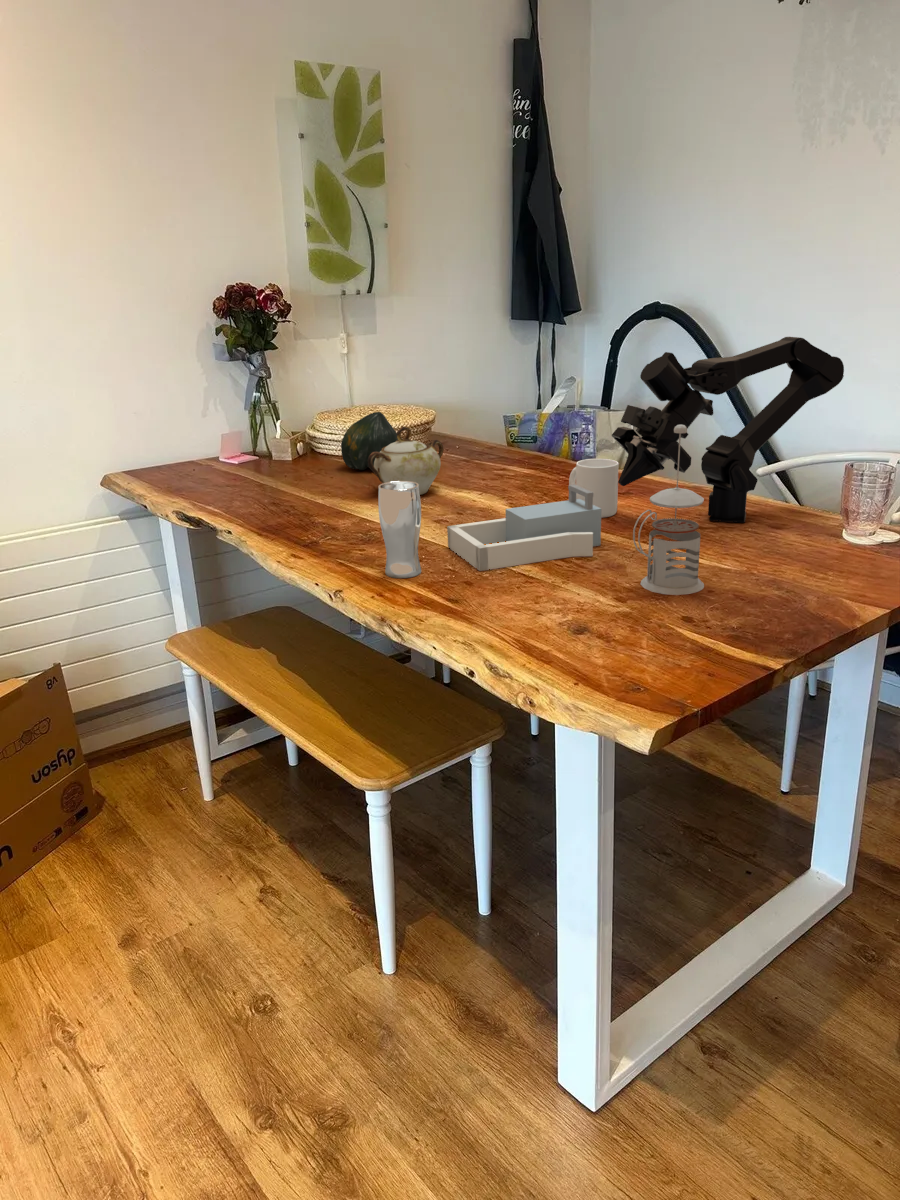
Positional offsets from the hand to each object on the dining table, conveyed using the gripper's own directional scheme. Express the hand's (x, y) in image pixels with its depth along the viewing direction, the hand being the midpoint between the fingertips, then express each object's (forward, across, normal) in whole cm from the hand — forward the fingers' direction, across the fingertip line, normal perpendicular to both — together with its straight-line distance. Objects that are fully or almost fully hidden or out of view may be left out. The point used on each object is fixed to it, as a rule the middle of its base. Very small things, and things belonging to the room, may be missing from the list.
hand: (620, 484), depth 164 cm
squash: (+24, -81, -10) cm, 85 cm away
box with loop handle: (+17, 0, -3) cm, 17 cm away
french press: (+12, +27, +2) cm, 30 cm away
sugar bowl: (+24, -51, -10) cm, 57 cm away
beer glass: (+38, +2, -23) cm, 44 cm away
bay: (+21, 0, -8) cm, 23 cm away
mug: (+4, -17, +10) cm, 20 cm away
